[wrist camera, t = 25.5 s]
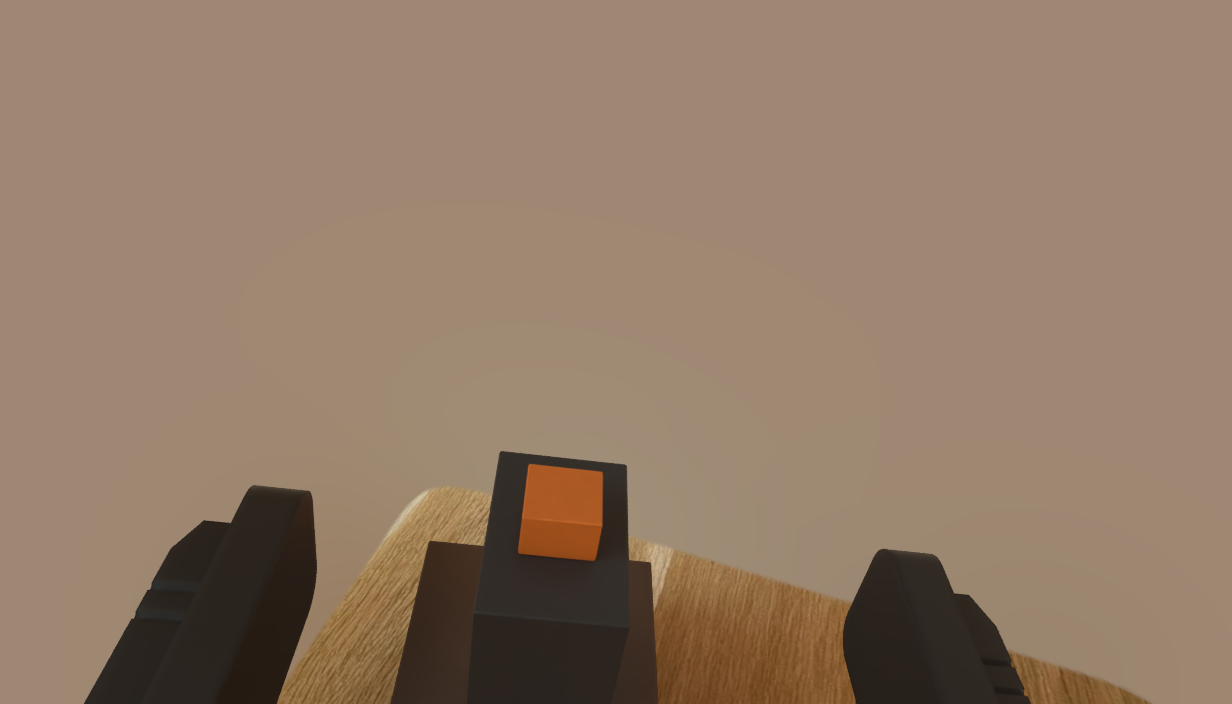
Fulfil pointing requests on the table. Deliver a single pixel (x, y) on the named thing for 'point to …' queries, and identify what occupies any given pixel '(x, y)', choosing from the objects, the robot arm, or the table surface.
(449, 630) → the shoe shelf
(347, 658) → the table surface
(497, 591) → the tall dark pillar
